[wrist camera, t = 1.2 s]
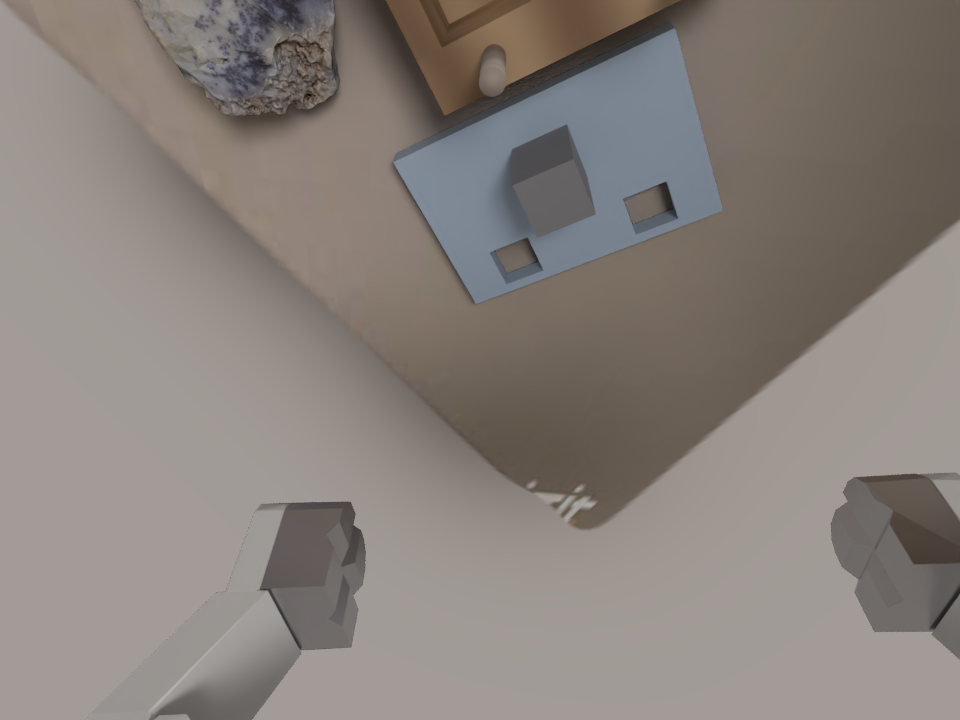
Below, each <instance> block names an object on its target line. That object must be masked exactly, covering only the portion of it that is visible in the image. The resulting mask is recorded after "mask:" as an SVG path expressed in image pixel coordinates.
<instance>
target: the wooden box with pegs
mask: <svg viewBox="0 0 960 720" xmlns="http://www.w3.org/2000/svg"><path fill="white" fill-rule="evenodd" d="M679 1H681V0H386V2H387V4H388V6H389V8H390V10H391V12H392V14H393V16H394V18H395V20H396V21H397V23H398V25H399V27H400V29H401V31H402V33H403V35H404V37H405V39H406V41H407V43H408V45H409V47H410V49H411V51H412V53H413V55H414V57H415V59H416V61H417V63H418V65H419V67H420V69H421V71H422V73H423V74H424V76H425V78H426V80H427V82H428V84H429V86H430V88H431V90H432V92H433V94H434V96H435V98H436V100H437V102H438V104H439V106H440V108H441V110H442V112H443V114H444V116H445V115H448V114H450V113H452V112H454V111H456V110H458V109H460V108H462V107H464V106H466V105H468V104H470V103H472V102H474V101H476V100H478V99H480V98H482V97H484V96H489V97H495V96H498V95H500V94H501V93H502V92H503V90H504V88H505V86H507V85H509V84H511V83H513V82H515V81H517V80H519V79H521V78H523V77H525V76H527V75H529V74H531V73H533V72H535V71H537V70H540V69H542V68H544V67H546V66H548V65H550V64H552V63H554V62H556V61H558V60H560V59H562V58H564V57H566V56H568V55H570V54H572V53H574V52H576V51H578V50H580V49H582V48H585V47H587V46H589V45H591V44H593V43H595V42H597V41H599V40H601V39H603V38H605V37H607V36H609V35H611V34H613V33H615V32H617V31H619V30H621V29H623V28H625V27H627V26H630V25H632V24H634V23H636V22H638V21H640V20H642V19H644V18H646V17H648V16H650V15H652V14H654V13H656V12H658V11H660V10H662V9H664V8H666V7H668V6H670V5H672V4H675V3H677V2H679Z"/></svg>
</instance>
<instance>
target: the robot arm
mask: <svg viewBox="0 0 960 720" xmlns="http://www.w3.org/2000/svg"><path fill="white" fill-rule="evenodd" d="M843 493H844V495H845V497H846V499H847V501H848V502H847V503H845V504H844V505H842V506H841V507H840V508H838V509H837V510H836V511H835V514H834V516H833V519H832V522H831V533H832V534H831V536H832V543H833V546H834V550H835V553H836V555H837V557H838V559H839V561H840V564H841V566H842V567H843V568H844V569H845V570H847V571H848V572H849V573H851V574H852V575H853V576H855V577H856V578H857V579H858V583H857V586H856V590H855V594H856V596H857V598H858V600H859V602H860V604H861V606H862V608H863V610H864V612H865V614H866V616H867V618H868V620H869V622H870V624H871V626H872V628H873V630H874V631H875V632H916V631H917V632H920V631H922V632H924V631H925V632H927V631H929V632H931V631H933V633H932V635H933V636H934V637H935V638H936V639H937V640H938V641H940V642H941V643H942V644H943V645H944V646H945V647H946V648H948V650H950V651H951V652H952V653H953V654H954V655H955V656H957V657H958V658H959V659H960V475H959V474H957V473H934V474H919V475H918V474H902V475H886V476H870V477H869V476H868V477H855V478H853V479H851V480H850V481H848V482H847V485H846V487H845V489H844V491H843ZM354 519H355V512H354V509H353V506H352V504H351V502H310V503H274V504H261V505H260V507H258V509H257V510H256V511H255V513H254V515H253V517H252V520H251V523H250V526H249V528H248V531H247V534H246V537H245V539H244V542H243V545H242V547H241V550H240V553H239V556H238V558H237V561H236V564H235V567H234V569H233V572H232V575H231V577H230V580H229V583H228V586H227V588H226V591H225V592H216V593H215V594H214V595H213V596H212V597H211V598H210V599H209V600H208V601H207V602H206V603H205V604H204V605H203V606H201V607H200V609H198V610H197V611H196V612H195V613H194V614H193V615H192V616H191V617H190V618H189V619H188V620H187V621H186V622H185V623H184V624H183V625H181V626H180V627H179V628H178V629H177V630H176V631H175V632H174V633H173V634H172V635H171V636H170V637H169V638H168V639H167V640H166V641H165V642H164V643H163V644H162V645H160V646H159V647H158V648H157V649H156V650H155V651H154V652H153V653H152V654H151V655H150V656H149V657H148V658H147V659H146V660H145V661H144V662H143V663H142V664H140V665H139V666H138V667H137V668H136V669H135V670H134V671H133V672H132V673H131V674H130V675H129V676H128V677H127V678H126V679H125V680H124V681H122V682H121V683H120V684H119V685H118V686H117V687H116V688H115V689H114V690H113V691H112V692H111V693H110V694H109V695H108V696H107V697H106V698H105V699H104V700H102V702H100V703H99V704H98V705H97V706H96V707H95V708H94V709H93V710H92V711H91V712H90V713H89V714H88V716H87V718H86V720H252V719H253V718H254V716H255V715H256V714H257V712H258V711H259V710H260V708H261V707H262V706H263V704H264V703H265V702H266V700H267V699H268V698H269V696H270V695H271V694H272V692H273V691H274V690H275V688H276V687H277V686H278V684H279V683H280V681H281V680H282V679H283V678H284V676H285V675H286V674H287V672H288V671H289V670H290V668H291V667H292V665H293V664H294V663H295V661H296V660H297V659H298V657H299V656H300V655H301V651H300V650H314V649H331V648H348V647H351V646H352V641H353V635H354V630H355V624H356V619H357V613H358V608H357V605H356V602H355V599H354V597H353V595H354V594H355V592H356V591H357V590H358V589H359V588H360V587H361V586H362V585H363V579H364V572H365V554H366V551H365V544H364V538H363V535H362V532H361V530H360V529H358V528H357V527H355V526H354V525H353V524H354Z"/></svg>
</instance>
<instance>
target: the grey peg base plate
mask: <svg viewBox="0 0 960 720" xmlns="http://www.w3.org/2000/svg"><path fill="white" fill-rule="evenodd" d="M393 163H394V165H395V167H396V168H397V170H398V172H399V174H400V175H401V177H402V179H403V180H404V182H405V184H406V185H407V187H408V189H409V191H410V192H411V194H412V196H413V197H414V199H415V201H416V203H417V204H418V206H419V208H420V209H421V211H422V213H423V214H424V216H425V218H426V220H427V221H428V223H429V225H430V226H431V228H432V230H433V232H434V233H435V235H436V237H437V238H438V240H439V242H440V243H441V245H442V247H443V249H444V250H445V252H446V254H447V255H448V257H449V259H450V260H451V262H452V264H453V266H454V267H455V269H456V271H457V272H458V274H459V276H460V278H461V279H462V281H463V283H464V284H465V286H466V288H467V289H468V291H469V293H470V295H471V296H472V298H473V300H474V301H475V303H476V304H478V303H481V302H484V301H486V300H489V299H492V298H494V297H497V296H499V295H502V294H505V293H507V292H510V291H513V290H515V289H518V288H521V287H523V286H526V285H529V284H531V283H534V282H536V281H539V280H542V279H544V278H547V277H550V276H552V275H555V274H558V273H560V272H563V271H566V270H568V269H571V268H573V267H576V266H579V265H581V264H584V263H587V262H589V261H592V260H595V259H597V258H600V257H603V256H605V255H608V254H610V253H613V252H616V251H618V250H621V249H624V248H626V247H629V246H632V245H634V244H637V243H640V242H642V241H645V240H647V239H650V238H653V237H655V236H658V235H661V234H663V233H666V232H669V231H671V230H674V229H677V228H679V227H682V226H684V225H687V224H690V223H692V222H695V221H698V220H700V219H703V218H706V217H708V216H711V215H714V214H716V213H719V212H721V211H723V209H722V205H721V201H720V197H719V194H718V190H717V186H716V182H715V178H714V174H713V171H712V167H711V163H710V159H709V155H708V151H707V148H706V144H705V140H704V136H703V132H702V128H701V125H700V121H699V117H698V113H697V109H696V105H695V102H694V98H693V94H692V90H691V86H690V82H689V79H688V75H687V71H686V67H685V63H684V59H683V56H682V52H681V48H680V44H679V40H678V36H677V33H676V29H675V27H674V26H673V25H672V23H671V22H669V23H666V24H664V25H662V26H660V27H658V28H656V29H654V30H652V31H650V32H648V33H646V34H644V35H641V36H639V37H637V38H635V39H633V40H631V41H629V42H627V43H625V44H623V45H621V46H619V47H617V48H614V49H612V50H610V51H608V52H606V53H604V54H602V55H600V56H598V57H596V58H594V59H592V60H590V61H587V62H585V63H583V64H581V65H579V66H577V67H575V68H573V69H571V70H569V71H567V72H565V73H563V74H560V75H558V76H556V77H554V78H552V79H550V80H548V81H546V82H544V83H542V84H540V85H538V86H535V87H533V88H531V89H529V90H527V91H525V92H523V93H521V94H519V95H517V96H515V97H513V98H511V99H508V100H506V101H504V102H502V103H500V104H498V105H496V106H494V107H492V108H490V109H488V110H486V111H484V112H481V113H479V114H477V115H475V116H473V117H471V118H469V119H467V120H465V121H463V122H461V123H459V124H457V125H454V126H452V127H450V128H448V129H446V130H444V131H442V132H440V133H438V134H436V135H434V136H432V137H429V138H427V139H425V140H423V141H421V142H419V143H417V144H415V145H413V146H411V147H409V148H407V149H405V150H402V151H400V152H398V153H396V155H395V158H394V161H393ZM664 182H666V184H667V188H668V191H669V194H670V197H671V200H672V204H673V207H674V209H672V210H669V211H667V212H664V213H662V214H659V215H657V216H654V217H651V218H649V219H646V220H644V221H641V222H639V223H636V224H632V221H631V218H630V216H629V213H628V210H627V207H626V205H625V202H624V198H626V197H629V196H631V195H634V194H636V193H639V192H641V191H644V190H646V189H649V188H651V187H654V186H656V185H659V184H661V183H664ZM527 237H528V239H529V241H530V244H531V246H532V248H533V250H534V252H535V254H536V256H537V258H538V260H539V261H538V262H536V263H533V264H530V265H528V266H525V267H523V268H520V269H518V270H515V271H512V272H510V273H507V274H506V272H505V270H504V268H503V266H502V264H501V262H500V260H499V259H498V257H497V255H496V253H495V250H497V249H500V248H502V247H505V246H507V245H510V244H512V243H515V242H517V241H520V240H522V239H525V238H527Z"/></svg>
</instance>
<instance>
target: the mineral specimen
mask: <svg viewBox="0 0 960 720" xmlns="http://www.w3.org/2000/svg"><path fill="white" fill-rule="evenodd" d="M135 2H136V3H137V5H138V6H139V8H140V9H141V10H142V14H143V17H144V21H145V23H146V25H147V26H148V28H149V29H150V31H151V32H152V34H153V36H154V37H155V38H156V40H157V41H158V43H159V44H160V45H161V47H162V48H163V49H164V50H165V51H166V52H167V54H168V55H169V56H170V57H171V58H172V60H173V61H174V62H175V63H176V64H177V65H178V67H179V68H180V70H181V72H182V74H183V75H184V77H185V79H186V80H188V81H189V82H190V83H192V84H194V85H197V86H199V87H202V88H204V89H205V93H206V97H207V98H209V99H211V100H212V101H213V104H214V106H215V107H216V109H217V110H219V111H220V112H222V113H223V114H225V115H231V116H239V115H241V116H247V114H249V115H252V114H253V115H260V113H261V112H262V113H268V112H274V113H275V114H278V115H279V114H285V113H286V111H287V109H288V105H290V102H291V103H292V104H293V105H294V106H295V107H297V108H298V109H306V110H308V109H311V108H313V107H314V106H315V105H317V104H319V103H322V102H324V101H326V100H327V98H328V97H329V96H332V95H333V94H334V93H335V91H336V89H337V88H338V85H339V82H340V79H339V74H338V68H337V63H336V59H335V55H334V50H333V33H334V28H335V10H334V0H135Z"/></svg>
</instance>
